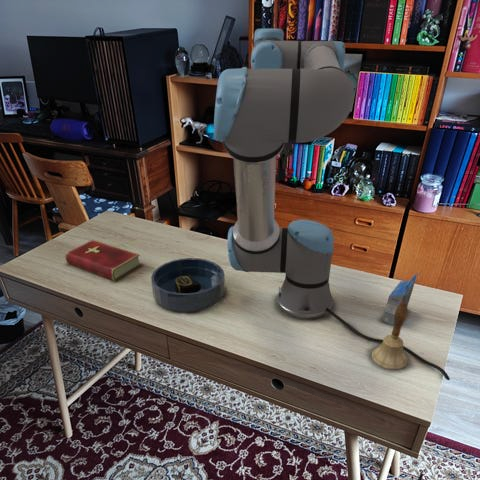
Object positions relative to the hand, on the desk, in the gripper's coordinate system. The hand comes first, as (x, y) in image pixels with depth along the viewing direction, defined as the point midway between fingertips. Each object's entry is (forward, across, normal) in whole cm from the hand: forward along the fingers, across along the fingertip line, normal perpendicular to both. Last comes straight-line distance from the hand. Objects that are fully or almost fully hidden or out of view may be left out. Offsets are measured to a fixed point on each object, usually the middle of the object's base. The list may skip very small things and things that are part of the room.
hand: (264, 174), depth 133 cm
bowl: (+27, -4, +33) cm, 43 cm away
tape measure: (+26, -4, +33) cm, 42 cm away
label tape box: (+27, -50, -2) cm, 57 cm away
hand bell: (+27, -59, +14) cm, 66 cm away
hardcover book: (+27, +28, +44) cm, 59 cm away
